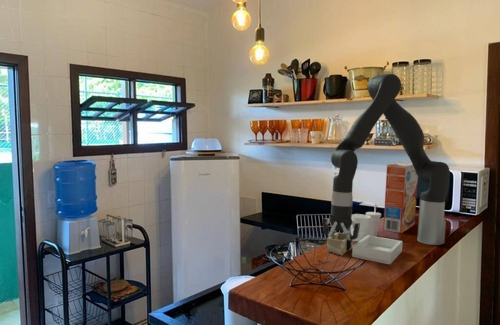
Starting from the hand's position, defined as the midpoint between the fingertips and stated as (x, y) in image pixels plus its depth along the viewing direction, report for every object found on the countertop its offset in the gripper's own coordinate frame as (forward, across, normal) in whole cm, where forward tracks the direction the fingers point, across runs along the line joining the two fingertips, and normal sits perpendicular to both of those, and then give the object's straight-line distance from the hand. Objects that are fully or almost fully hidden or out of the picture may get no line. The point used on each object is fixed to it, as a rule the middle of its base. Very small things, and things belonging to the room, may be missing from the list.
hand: (339, 247), depth 146 cm
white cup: (+1, +2, +18) cm, 19 cm away
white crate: (+1, +13, +4) cm, 14 cm away
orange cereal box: (+1, +10, +53) cm, 54 cm away
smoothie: (+1, +4, +29) cm, 29 cm away
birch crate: (+1, 0, 0) cm, 1 cm away
